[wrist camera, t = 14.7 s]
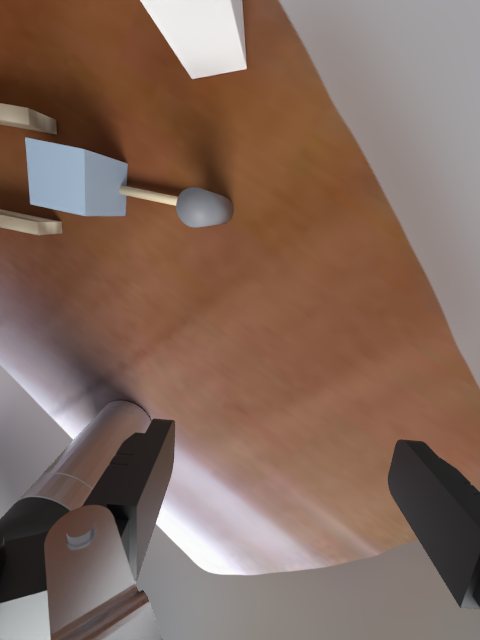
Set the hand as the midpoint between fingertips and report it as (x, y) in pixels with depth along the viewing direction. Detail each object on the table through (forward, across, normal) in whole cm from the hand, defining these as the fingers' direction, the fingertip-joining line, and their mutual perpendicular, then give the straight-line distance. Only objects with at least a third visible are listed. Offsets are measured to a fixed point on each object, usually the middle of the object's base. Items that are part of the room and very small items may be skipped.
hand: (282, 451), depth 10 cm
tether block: (+28, +13, -13) cm, 34 cm away
